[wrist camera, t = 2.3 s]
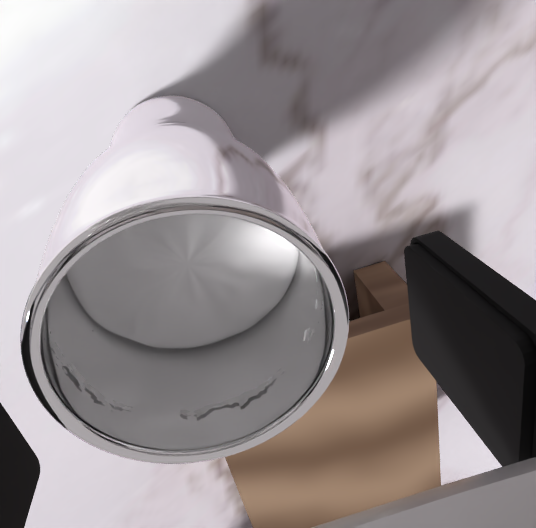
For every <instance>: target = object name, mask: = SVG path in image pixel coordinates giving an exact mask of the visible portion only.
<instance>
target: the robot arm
mask: <svg viewBox="0 0 536 528" xmlns="http://www.w3.org/2000/svg"><path fill="white" fill-rule="evenodd" d="M404 255H405V266H406V278H407V289H408V300H409V312H410V323H411V334H412V344H413V348H414V350H415V353H416V355H417V356H418V358H419V359H420V361H421V362H422V363H423V365H424V366H425V367H426V368H427V370H428V371H429V372H430V374H431V375H432V376H433V377H434V379H435V380H436V381H437V383H438V384H439V385H440V387H441V388H442V389H443V390H444V392H445V393H446V394H447V396H448V397H449V398H450V399H451V401H452V402H453V403H454V405H455V406H456V407H457V409H458V410H459V411H460V412H461V414H462V415H463V416H464V418H465V419H466V420H467V421H468V423H469V424H470V425H471V427H472V428H473V429H474V431H475V432H476V433H477V434H478V436H479V437H480V438H481V440H482V441H483V442H484V443H485V445H486V446H487V447H488V449H489V450H490V451H491V453H492V454H493V455H494V456H495V458H496V459H497V460H498V462H499V463H500V464H501V465H502V467H501V468H498V469H494V470H491V471H488V472H484V473H481V474H478V475H475V476H471V477H468V478H465V479H461V480H458V481H455V482H452V483H448V484H445V485H442V486H439V487H435V488H432V489H429V490H426V491H423V492H420V493H417V494H414V495H411V496H408V497H405V498H402V499H398V500H395V501H392V502H389V503H386V504H383V505H380V506H377V507H374V508H371V509H368V510H365V511H362V512H358V513H355V514H352V515H349V516H346V517H343V518H340V519H337V520H334V521H331V522H328V523H325V524H321V525H318V526H315V527H312V528H536V300H535V299H533V298H532V297H530V296H529V295H528V294H526V293H525V292H523V291H522V290H521V289H519V288H518V287H517V286H515V285H514V284H512V283H511V282H510V281H508V280H507V279H505V278H504V277H503V276H501V275H500V274H498V273H497V272H496V271H494V270H493V269H492V268H490V267H489V266H487V265H486V264H485V263H483V262H482V261H480V260H479V259H478V258H476V257H475V256H474V255H472V254H471V253H469V252H468V251H467V250H465V249H464V248H462V247H461V246H460V245H458V244H457V243H455V242H454V241H453V240H451V239H450V238H449V237H447V236H446V235H444V234H443V233H442V232H440V231H435V232H432V233H428V234H425V235H421V236H418V237H414V238H413V239H412V240H411V245H410V246H407V247H406V248H405V250H404ZM39 475H40V464H39V460H38V458H37V456H36V455H35V453H34V452H33V450H32V449H31V447H30V446H29V444H28V443H27V441H26V440H25V438H24V437H23V436H22V434H21V433H20V431H19V430H18V428H17V427H16V425H15V424H14V422H13V421H12V419H11V418H10V416H9V415H8V413H7V412H6V410H5V409H4V407H3V406H2V405H1V403H0V528H24V526H25V522H26V519H27V516H28V512H29V509H30V506H31V502H32V499H33V495H34V492H35V489H36V485H37V482H38V479H39Z"/></svg>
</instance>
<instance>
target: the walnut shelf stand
mask: <svg viewBox="0 0 536 528" xmlns="http://www.w3.org/2000/svg"><path fill="white" fill-rule="evenodd" d="M353 271H354V278H355V285H356V292H357V299H358V306H359V313H360V318H359V319H356V320H352V321H349V332H348V339H347V344H346V348H345V352H344V355H343V358H342V361H341V363H340V366H339V368H338V370H337V372H336V374H335V376H334V378H333V380H332V381H331V383H330V385H329V386H328V388H327V389H326V390H325V392H324V393H323V395H322V396H321V397H320V398H319V400H318V401H317V402H316V403H315V404H314V405H313V406H312V407H311V409H310V410H309V411H307V412H306V413H305V414H304V415H303V416H302V417H301V418H300V419H299V420H297V421H296V422H295V423H294V424H292V425H291V426H290V427H288V428H287V429H285V430H284V431H283V432H281V433H279V434H278V435H276V436H274V437H273V438H271V439H269V440H267V441H265V442H263V443H261V444H259V445H257V446H255V447H253V448H250V449H248V450H245V451H243V452H240V453H237V454H234V455H230V456H227V457H225V458H226V461H227V463H228V466H229V468H230V471H231V473H232V476H233V478H234V481H235V483H236V486H237V488H238V491H239V493H240V496H241V499H242V501H243V504H244V506H245V509H246V511H247V514H248V516H249V519H250V521H251V524H252V526H253V528H312V527H315V526H318V525H321V524H325V523H328V522H331V521H334V520H337V519H340V518H343V517H346V516H349V515H352V514H355V513H358V512H362V511H365V510H368V509H371V508H374V507H377V506H380V505H383V504H386V503H389V502H392V501H395V500H398V499H402V498H405V497H408V496H411V495H414V494H417V493H420V492H423V491H426V490H429V489H432V488H435V487H439V486H441V477H440V454H439V431H438V409H437V386H436V380H435V379H434V377H433V376H432V375H431V374H430V372H429V371H428V370H427V368H426V367H425V366H424V365H423V363H422V362H421V361H420V359H419V358H418V356H417V355H416V353H415V350H414V348H413V344H412V334H411V323H410V312H409V300H408V289H407V284H406V283H405V282H404V280H403V279H402V278H401V277H400V276H399V275H398V274H397V273H396V272H395V271H394V270H393V269H392V268H391V267H390V266H389V265H388V264H387V263H386V262H385V261H383V262H380V263H377V264H373V265H370V266H367V267H363V268H360V269H357V270H353Z"/></svg>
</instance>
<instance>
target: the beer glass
mask: <svg viewBox="0 0 536 528" xmlns="http://www.w3.org/2000/svg"><path fill="white" fill-rule="evenodd" d="M348 332H349V309H348V302H347V297H346V293H345V289H344V286H343V283H342V280H341V278H340V275H339V273H338V271H337V269H336V268H335V266H334V264H333V262H332V261H331V259H330V258H329V256H328V255H327V254H326V252H325V251H324V249H323V247H322V245H321V243H320V241H319V239H318V237H317V235H316V233H315V231H314V229H313V227H312V225H311V223H310V222H309V220H308V218H307V216H306V214H305V212H304V210H303V209H302V207H301V206H300V204H299V203H298V201H297V200H296V198H295V197H294V195H293V194H292V192H291V191H290V189H289V188H288V186H287V185H286V183H285V182H284V181H283V180H282V179H281V177H280V176H279V175H278V174H277V173H276V172H275V171H274V170H273V169H272V168H271V167H270V165H269V164H268V163H267V162H266V161H265V160H264V159H263V158H262V157H261V156H259V155H258V154H257V153H256V152H255V151H253V150H252V149H251V148H249V147H248V146H246V145H245V144H243V143H241V142H240V141H238V140H236V139H234V136H233V134H232V132H231V130H230V128H229V127H228V125H227V124H226V122H225V121H224V120H223V119H222V118H221V117H220V115H218V114H217V113H216V112H215V111H214V110H213V109H211V108H210V107H208V106H207V105H205V104H203V103H201V102H199V101H196V100H194V99H191V98H187V97H182V96H173V95H169V96H160V97H155V98H152V99H149V100H146V101H144V102H142V103H140V104H138V105H137V106H135V107H134V108H133V109H131V110H130V111H129V112H128V113H127V114H126V115H125V116H124V117H123V118H122V120H121V121H120V122H119V124H118V125H117V127H116V129H115V131H114V134H113V136H112V140H111V144H110V147H109V148H107V149H106V150H105V151H104V152H102V153H101V154H100V155H99V156H98V157H96V158H95V159H94V160H93V161H92V162H91V163H90V165H89V166H88V167H87V168H86V169H85V170H84V172H83V173H82V175H81V176H80V177H79V179H78V180H77V182H76V183H75V185H74V186H73V188H72V189H71V191H70V192H69V194H68V196H67V197H66V199H65V201H64V203H63V205H62V207H61V209H60V212H59V214H58V216H57V218H56V221H55V223H54V225H53V228H52V230H51V233H50V235H49V238H48V241H47V245H46V248H45V251H44V254H43V257H42V260H41V264H40V268H39V271H38V275H37V279H36V282H35V284H34V286H33V288H32V290H31V293H30V295H29V297H28V300H27V303H26V306H25V310H24V314H23V318H22V325H21V340H20V341H21V355H22V361H23V365H24V369H25V372H26V375H27V378H28V381H29V383H30V385H31V387H32V389H33V391H34V393H35V395H36V396H37V398H38V399H39V401H40V402H41V404H42V405H43V406H44V408H45V409H46V410H47V411H48V412H49V414H50V415H51V416H52V417H53V418H54V419H55V420H56V421H57V422H58V423H59V424H60V425H62V426H63V427H64V428H65V429H66V430H68V431H69V432H70V433H72V434H73V435H74V436H76V437H78V438H79V439H81V440H82V441H84V442H86V443H88V444H90V445H92V446H94V447H96V448H98V449H100V450H103V451H105V452H108V453H110V454H113V455H117V456H120V457H123V458H127V459H132V460H137V461H142V462H150V463H161V464H185V463H196V462H203V461H209V460H214V459H219V458H223V457H227V456H230V455H234V454H237V453H240V452H243V451H245V450H248V449H250V448H253V447H255V446H257V445H259V444H261V443H263V442H265V441H267V440H269V439H271V438H273V437H274V436H276V435H278V434H279V433H281V432H283V431H284V430H285V429H287V428H288V427H290V426H291V425H292V424H294V423H295V422H296V421H297V420H299V419H300V418H301V417H302V416H303V415H304V414H305V413H306V412H307V411H309V410H310V409H311V407H312V406H313V405H314V404H315V403H316V402H317V401H318V400H319V398H320V397H321V396H322V395H323V393H324V392H325V390H326V389H327V388H328V386H329V385H330V383H331V381H332V380H333V378H334V376H335V374H336V372H337V370H338V368H339V366H340V363H341V361H342V358H343V355H344V352H345V348H346V344H347V339H348Z"/></svg>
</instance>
